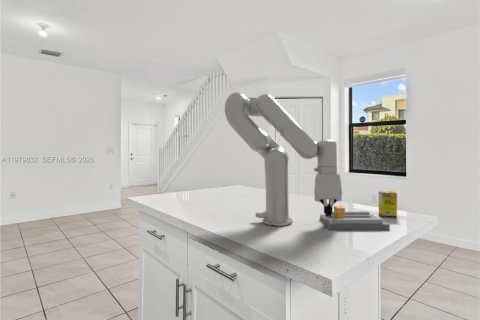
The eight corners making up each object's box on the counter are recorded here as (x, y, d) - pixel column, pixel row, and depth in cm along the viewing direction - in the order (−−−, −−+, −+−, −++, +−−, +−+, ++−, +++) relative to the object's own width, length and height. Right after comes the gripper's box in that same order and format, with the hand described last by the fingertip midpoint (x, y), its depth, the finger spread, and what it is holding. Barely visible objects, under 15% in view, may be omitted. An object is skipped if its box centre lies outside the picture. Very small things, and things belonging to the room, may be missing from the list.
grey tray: (334, 223, 105) (334, 219, 105) (325, 215, 118) (325, 211, 118) (382, 223, 104) (382, 219, 104) (368, 215, 117) (368, 211, 117)
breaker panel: (329, 229, 104) (329, 223, 104) (320, 219, 120) (320, 213, 120) (389, 229, 102) (389, 222, 102) (371, 218, 118) (371, 212, 118)
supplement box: (397, 217, 119) (397, 193, 119) (382, 217, 120) (382, 192, 120) (392, 214, 125) (392, 190, 125) (378, 214, 126) (378, 190, 126)
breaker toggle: (337, 220, 109) (337, 208, 109) (334, 217, 114) (333, 205, 114) (345, 220, 109) (345, 208, 109) (341, 217, 114) (341, 205, 113)
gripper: (310, 171, 108) (311, 217, 108) (349, 170, 107) (350, 217, 107) (306, 170, 115) (308, 213, 116) (343, 169, 114) (344, 212, 115)
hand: (328, 215), depth 112 cm, fingers closed
